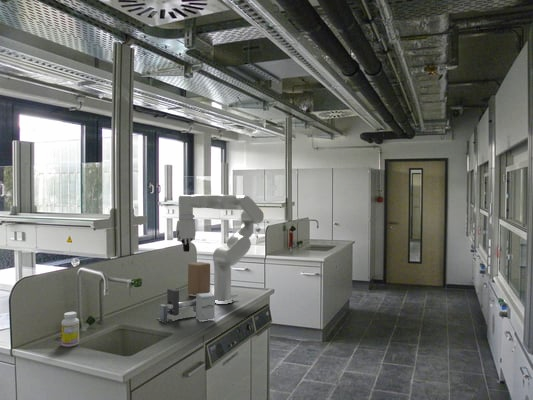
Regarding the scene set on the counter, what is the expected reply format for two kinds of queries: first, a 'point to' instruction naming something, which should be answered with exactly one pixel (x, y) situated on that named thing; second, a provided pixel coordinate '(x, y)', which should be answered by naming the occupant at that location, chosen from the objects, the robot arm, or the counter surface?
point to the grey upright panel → (173, 301)
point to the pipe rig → (170, 307)
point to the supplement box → (205, 306)
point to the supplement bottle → (70, 330)
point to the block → (198, 278)
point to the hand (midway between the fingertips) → (186, 251)
